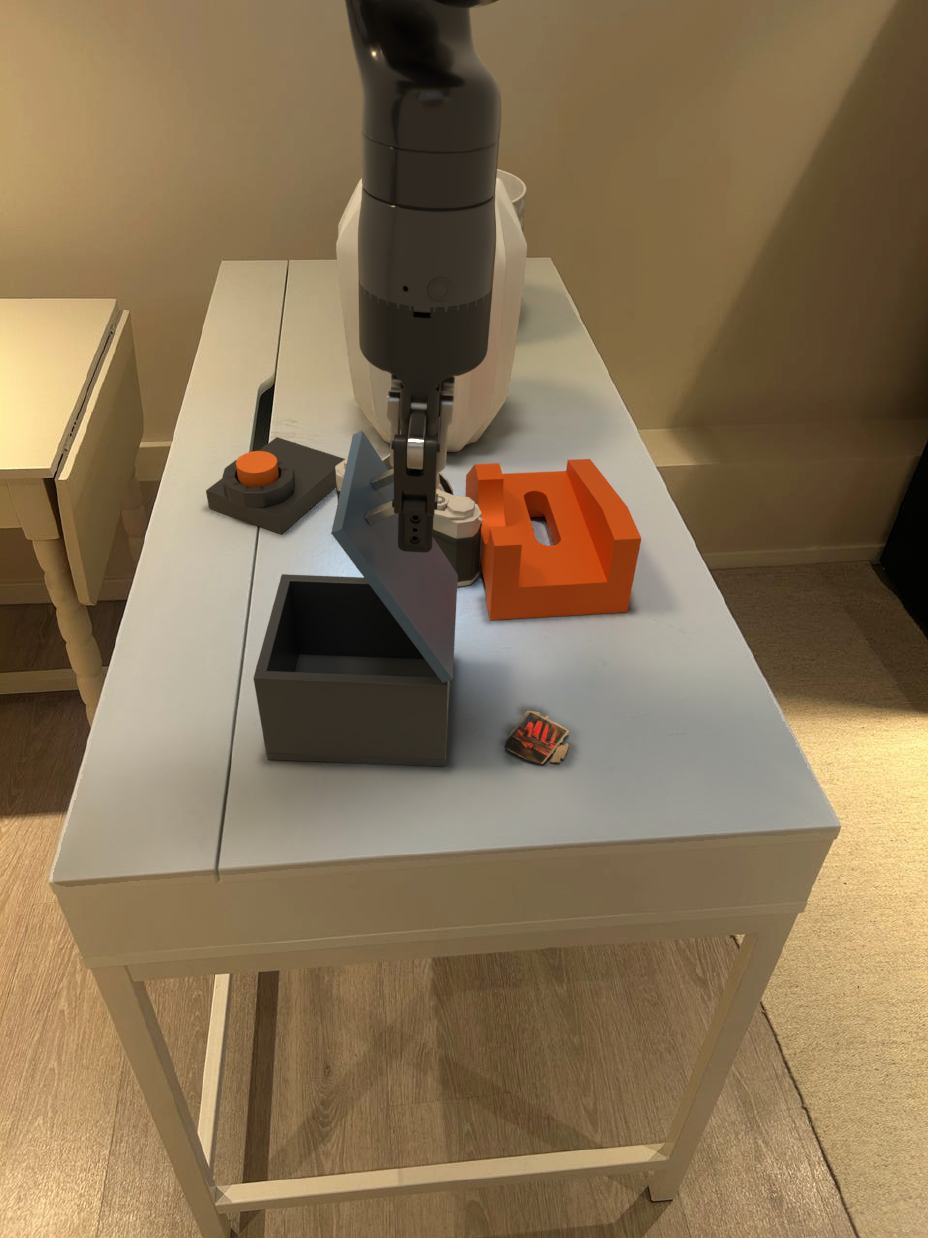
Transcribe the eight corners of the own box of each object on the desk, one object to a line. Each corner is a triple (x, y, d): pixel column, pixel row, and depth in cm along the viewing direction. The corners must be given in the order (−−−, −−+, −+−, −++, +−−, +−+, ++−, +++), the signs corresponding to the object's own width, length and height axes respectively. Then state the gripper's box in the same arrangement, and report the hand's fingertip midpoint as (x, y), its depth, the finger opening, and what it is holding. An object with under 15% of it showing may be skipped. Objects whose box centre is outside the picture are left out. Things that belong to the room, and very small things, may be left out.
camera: (510, 550, 92) (517, 462, 85) (463, 597, 86) (466, 507, 80) (379, 497, 98) (376, 411, 91) (327, 537, 92) (319, 449, 86)
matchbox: (501, 754, 72) (501, 750, 72) (520, 708, 76) (521, 704, 75) (559, 771, 71) (560, 767, 71) (576, 724, 75) (577, 720, 74)
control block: (278, 537, 92) (274, 503, 89) (205, 510, 95) (199, 477, 92) (347, 476, 101) (345, 444, 98) (278, 454, 103) (275, 421, 101)
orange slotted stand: (627, 611, 85) (641, 538, 80) (489, 620, 84) (494, 545, 78) (584, 499, 99) (594, 429, 93) (465, 505, 97) (467, 434, 92)
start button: (262, 492, 92) (260, 476, 90) (229, 480, 93) (227, 465, 92) (286, 472, 94) (285, 457, 93) (254, 461, 96) (252, 446, 94)
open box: (266, 759, 71) (253, 678, 65) (291, 654, 80) (281, 573, 74) (445, 766, 71) (447, 686, 65) (451, 660, 80) (453, 580, 74)
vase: (369, 487, 99) (356, 220, 81) (329, 400, 113) (311, 155, 95) (539, 460, 104) (564, 202, 86) (481, 379, 118) (492, 143, 99)
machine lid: (330, 533, 57) (408, 500, 55) (352, 434, 65) (420, 403, 64) (442, 683, 65) (512, 658, 63) (449, 578, 74) (510, 554, 72)
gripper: (371, 224, 57) (372, 463, 69) (342, 323, 47) (349, 587, 58) (493, 233, 58) (474, 469, 69) (493, 334, 47) (471, 595, 58)
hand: (417, 522), depth 63 cm, fingers closed on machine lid, 5 cm apart
